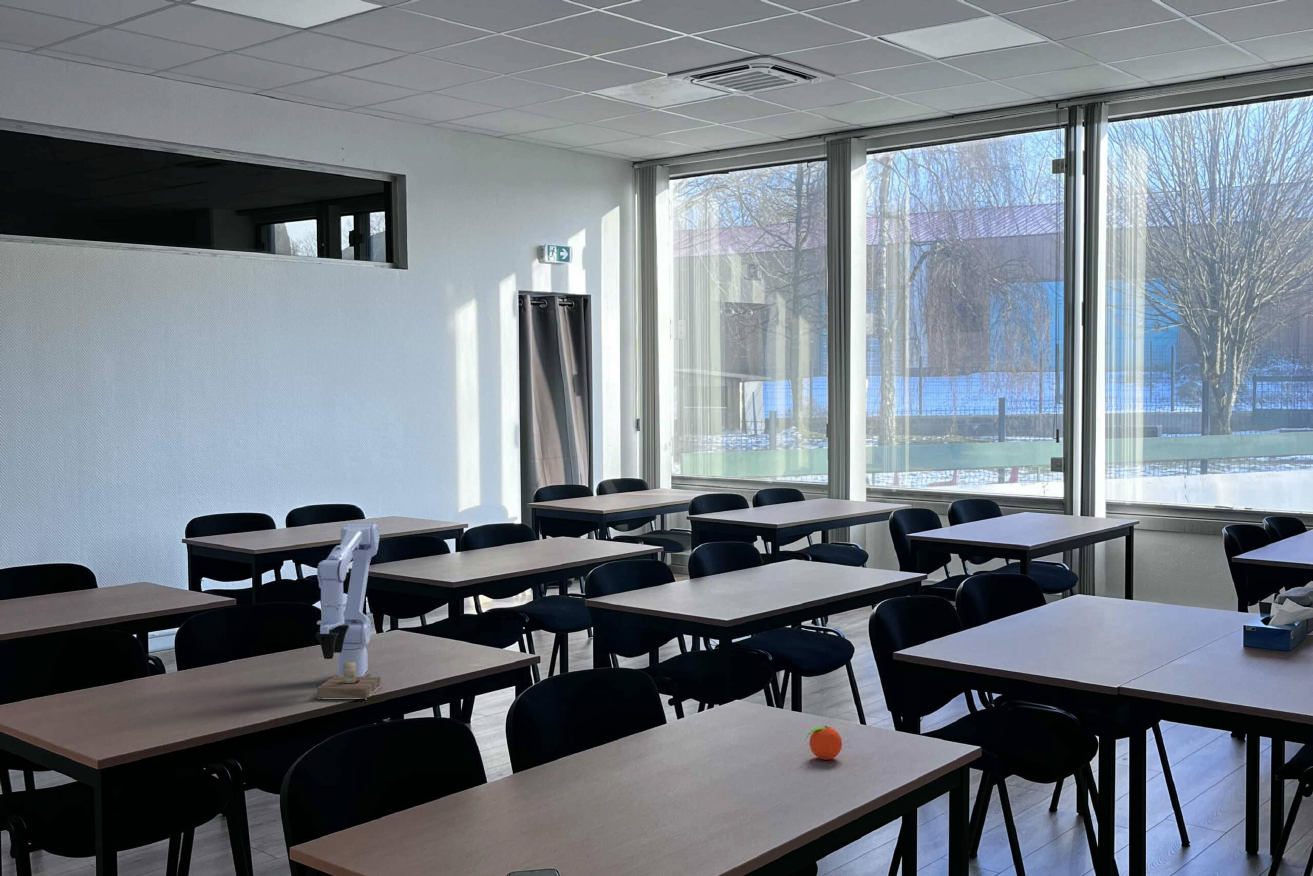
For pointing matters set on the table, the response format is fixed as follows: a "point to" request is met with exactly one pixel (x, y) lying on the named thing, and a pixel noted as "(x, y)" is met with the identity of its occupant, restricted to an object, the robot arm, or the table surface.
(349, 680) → the peg
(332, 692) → the board
